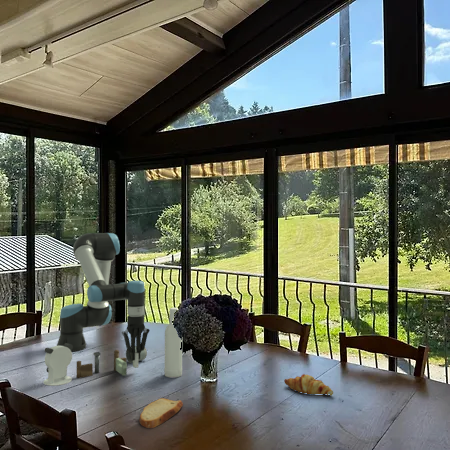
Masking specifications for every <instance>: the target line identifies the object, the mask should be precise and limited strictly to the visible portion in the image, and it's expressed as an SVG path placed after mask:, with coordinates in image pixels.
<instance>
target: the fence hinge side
mask: <svg viewBox="0 0 450 450" xmlns="http://www.w3.org/2000/svg"><path fill="white" fill-rule="evenodd" d="M116 358H121V360H123V361H124V362H127V359H126V357H120V351H119V349H115V350H113V371H114V372H117V371H116Z"/></svg>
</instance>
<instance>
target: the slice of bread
mask: <svg viewBox="0 0 450 450" xmlns="http://www.w3.org/2000/svg"><path fill="white" fill-rule="evenodd" d="M183 406H184V403H183V401H182V400H181V399H180V400H171V399H168V398H165V397H164V398H163V397H160V398H158V399H157V400H154V401H152V402H150V403H148V404H147V405H146V406H144V407H143V411H142V412H141V413H140V414H139V420H138V421H139V424H140V425H141V426H142V427H144V428H147V429H152V428H153V429H154V428H156V427H158V426H160V425H162V424H164V423H165V422H167V421H168V420H169V419H171V418H173V416H175V415H176V414H177V413H179V411H180V410H181V408H182V407H183Z"/></svg>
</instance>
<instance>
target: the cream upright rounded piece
mask: <svg viewBox="0 0 450 450" xmlns="http://www.w3.org/2000/svg"><path fill="white" fill-rule="evenodd" d="M72 349H73V346H72V345H71V344H67V343H65V344H64V346H57V345H55V346H52V347H50V348H49V347H45V348H44V353H45V356H44V364H45V366H46V368H45V369H46V372H47V374H48V375H47V378H46V379H44V380H43V384H44V385H46V386H49V387H50V386H51V387H58V386H62V385H67V384H69V383H71V382H72V381H73V379H72V377H71V376H68V366H69V365H70V364H71V363H72V360H73V352H71V350H72Z"/></svg>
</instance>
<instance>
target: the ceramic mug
mask: <svg viewBox="0 0 450 450" xmlns="http://www.w3.org/2000/svg"><path fill="white" fill-rule="evenodd" d="M135 352H137V351H136V345H135ZM147 355H148V353H147V348H146V347H145V349H144V350H143V351H141V353H140V359H138V362H140V361H143V360H144V361H145V360H146V358H147ZM125 358H126V362H128V363H130V364H133V360H132V359H131V353H130V352H128V351H127V349H126V350H125Z"/></svg>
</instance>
